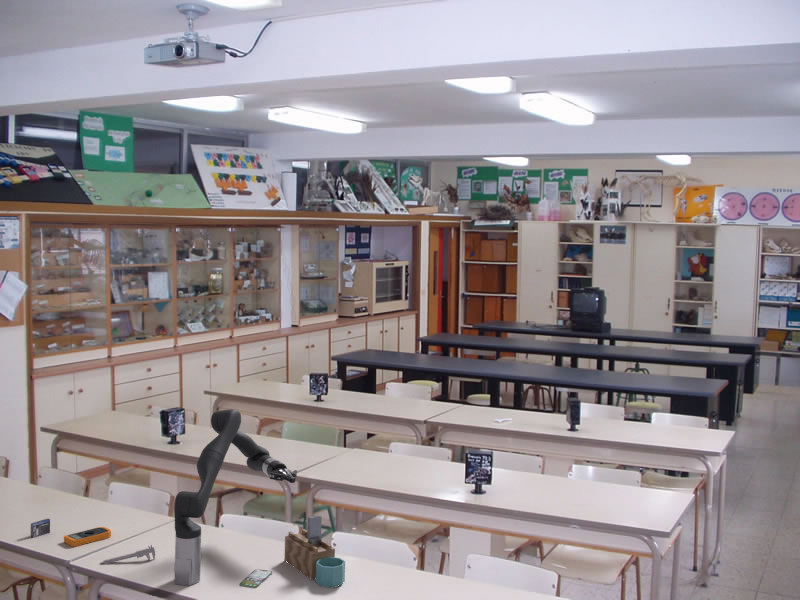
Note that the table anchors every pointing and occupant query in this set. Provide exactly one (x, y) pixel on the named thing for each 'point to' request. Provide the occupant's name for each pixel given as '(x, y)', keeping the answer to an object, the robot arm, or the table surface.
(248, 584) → the smartphone
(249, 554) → the table surface
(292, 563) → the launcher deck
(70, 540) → the multimeter
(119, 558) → the caliper
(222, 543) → the table surface
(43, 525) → the mini dv tape
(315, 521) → the gray rectangular block
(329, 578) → the cup
